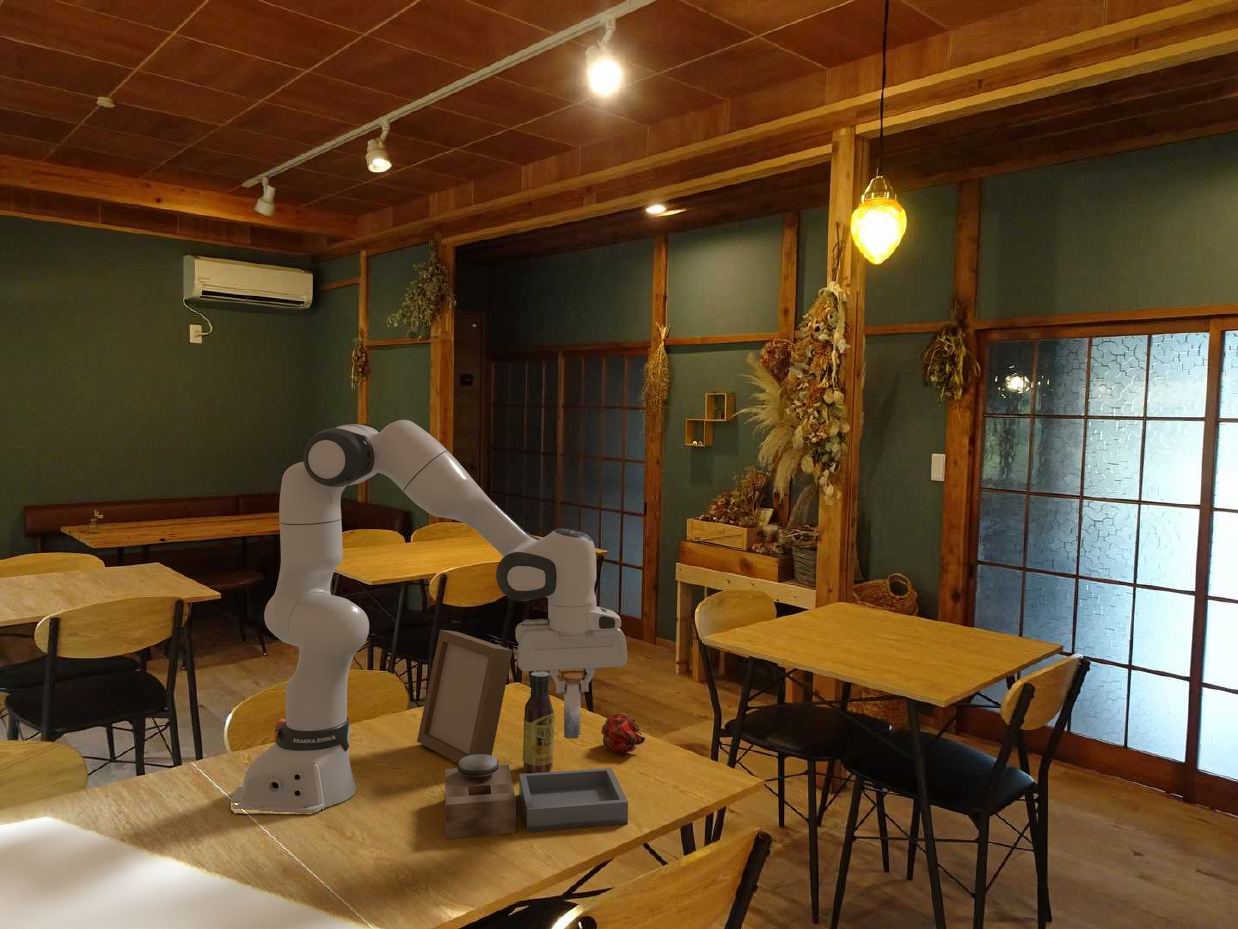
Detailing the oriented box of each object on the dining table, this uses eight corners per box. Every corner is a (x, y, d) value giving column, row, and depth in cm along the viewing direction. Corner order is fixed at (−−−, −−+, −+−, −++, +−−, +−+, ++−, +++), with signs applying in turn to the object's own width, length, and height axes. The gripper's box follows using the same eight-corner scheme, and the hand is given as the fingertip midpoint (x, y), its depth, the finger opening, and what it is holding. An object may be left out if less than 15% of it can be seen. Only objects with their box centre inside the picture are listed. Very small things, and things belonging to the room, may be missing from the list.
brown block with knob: (445, 839, 156) (445, 790, 155) (445, 800, 171) (445, 755, 171) (515, 833, 158) (515, 785, 157) (508, 795, 174) (508, 751, 173)
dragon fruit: (613, 746, 204) (633, 773, 193) (585, 729, 201) (604, 756, 190) (635, 715, 205) (657, 741, 194) (608, 698, 201) (628, 723, 190)
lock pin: (562, 740, 164) (561, 674, 164) (558, 732, 169) (558, 668, 168) (585, 739, 165) (585, 673, 165) (582, 731, 170) (582, 666, 169)
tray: (527, 832, 158) (527, 809, 158) (519, 794, 174) (519, 774, 174) (627, 824, 162) (628, 802, 162) (611, 787, 178) (611, 767, 177)
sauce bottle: (539, 777, 182) (539, 680, 181) (516, 770, 186) (516, 674, 185) (560, 767, 187) (560, 673, 186) (537, 760, 191) (538, 667, 190)
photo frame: (471, 775, 183) (472, 653, 182) (416, 746, 199) (417, 633, 198) (530, 758, 193) (531, 642, 192) (473, 731, 209) (475, 624, 208)
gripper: (516, 624, 161) (517, 700, 162) (629, 619, 165) (629, 694, 166) (514, 616, 167) (514, 689, 168) (622, 611, 171) (622, 683, 172)
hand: (572, 691), depth 167 cm, fingers closed on lock pin, 3 cm apart
